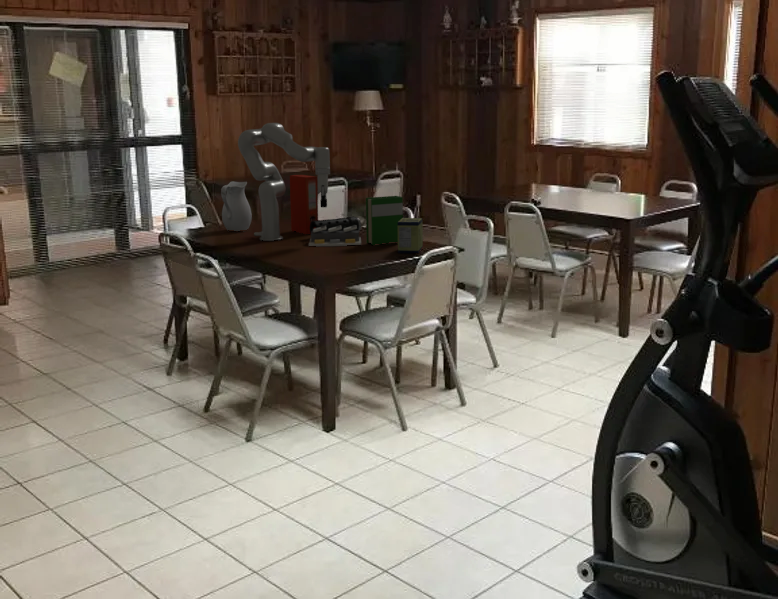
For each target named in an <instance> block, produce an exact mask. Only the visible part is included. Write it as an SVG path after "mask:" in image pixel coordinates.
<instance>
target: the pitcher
mask: <svg viewBox="0 0 778 599" xmlns="http://www.w3.org/2000/svg"><path fill="white" fill-rule="evenodd" d="M247 184H248V182H247V181H230V182H229V183H228V184H226V185H223V186H222V187H221V189H220V190H221V191H220V195H221V199H222V202H223V206H222V210H221V218H222V219H221V220H222V223H223V226H224V227H225V229H226V230H227V231H228V230H234V231H240V230H247V229H248V230H249V228H250V225H251V223H252V219H253V217H252V208H251V206H250V203H249V201H248V199H247V197H246V194H245V189H246V187H247ZM248 230H247V231H248Z"/></svg>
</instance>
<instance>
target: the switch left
mask: <svg viewBox="0 0 778 599" xmlns="http://www.w3.org/2000/svg"><path fill="white" fill-rule="evenodd" d="M322 230H326V226H322V227H319V228H315V229H313V232H314V233H315V232H318V231H322Z"/></svg>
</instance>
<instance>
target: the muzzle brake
mask: <svg viewBox="0 0 778 599" xmlns="http://www.w3.org/2000/svg"><path fill="white" fill-rule="evenodd" d="M340 225H341V227H342V229H340V230H337V231H344V228H347V227H351V226H354V225H356V226H357V229H354V230H352V231H358V230H359V232H360V231H361V229H362V222H361V219H360V218H359V217H358V216H346V217H341V218H340V217H339V218H338V217H337V218H330V219H322V220H319V219H318V221H312V222H311V223H310V233H311V232H312V231H313V229H314V227H316V228H319V227H322V226H326V230H322V231H328V229H329V228H333V227H336V226H340Z"/></svg>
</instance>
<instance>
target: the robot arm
mask: <svg viewBox="0 0 778 599" xmlns="http://www.w3.org/2000/svg"><path fill="white" fill-rule="evenodd" d="M284 127H285V126H283V124H281V123H279V122H267V123H265V124H264V125H263V126H262V127H261V128H256V129H255V128H253V129H246V130H244V131H243V132H241V133H240V135H239V136H238V140H237V146H238V150H239V152H240V154H241V155H242V157H243V158H244V160H245V163H246V165H247V168H248V170H249V171H250V173H251V175H252V177H253V178H254V179H255V180H256V181H259V182H260V181H264V182H261V183H260V185H259V187H258V196H259V197H258V198H259V202H260V213H261V214H260V216H261V231H259V232H257V231H256V232H253V236H254V237H259V241H262V240H263V241H264V242H275V241H274V240H278V241H281V239H282V240H283V239H284V236H282V235H281V232H280V231H281V230H280V229H281V227H280V226H281V225H280V208H279V207H280V205H279V202H278V199H277V198H280V197H282V196H284V195H285V194H286V188H287V187H286V183H285V181H284V180H283V178H282V175H281V174H280V172H279V169H278V168H277V166H276V165H275V164H274V163H273V162H271V161H264V160H263V158H262V156H261V154H260V152H259V151H258V150H257V149H256V148H255V146H260V145H261V146H262V145H265V144H268V143H273V144H275V145H276V146H278V147H280V148H281V149H283V151H284V152H286V154H287V155H288V156H289V157H291V158H293V159H295V160H297V161H298V162H302V163H309V162H314V164H315V166H314V167H315V170H314V171H315V175H317V192H318V195H320V199H319V200H320V208H327V207H328V198H327V194H328V190H329V175H331V167H330V166H331V162H330V160H331V159H330V157H331V156H330V152H331V151H330V148H329V147H326V146H324V147H323V146H319V147H317V146H302V145H300V144H299V143H297V142H295V141H294V138H293V134H291V133H289V132H287V131H286V130H285V128H284ZM263 241H262V242H263Z"/></svg>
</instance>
